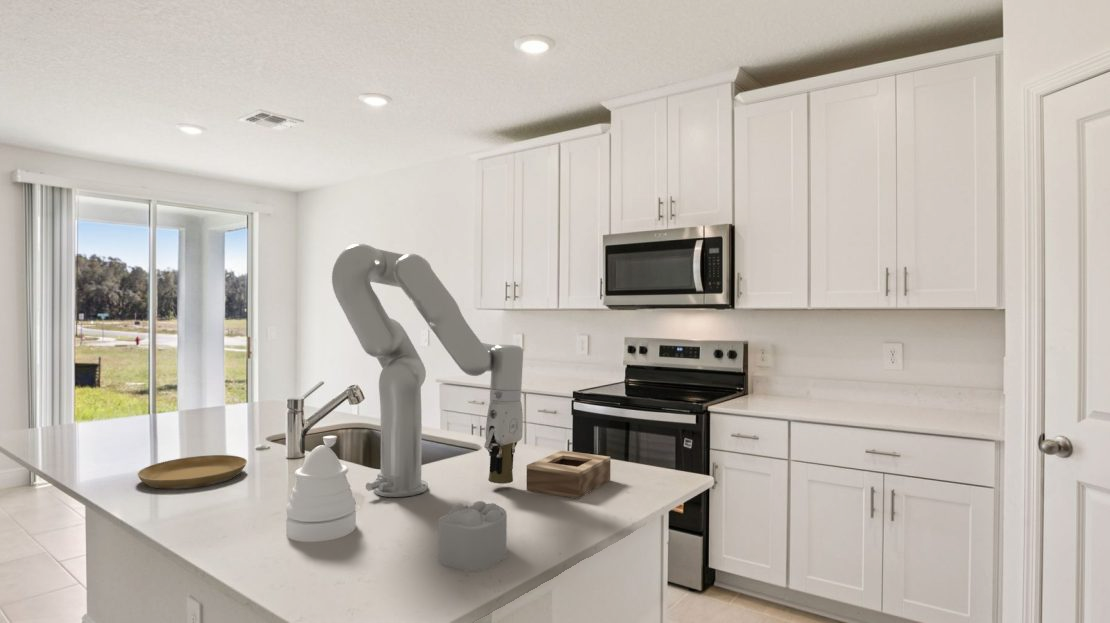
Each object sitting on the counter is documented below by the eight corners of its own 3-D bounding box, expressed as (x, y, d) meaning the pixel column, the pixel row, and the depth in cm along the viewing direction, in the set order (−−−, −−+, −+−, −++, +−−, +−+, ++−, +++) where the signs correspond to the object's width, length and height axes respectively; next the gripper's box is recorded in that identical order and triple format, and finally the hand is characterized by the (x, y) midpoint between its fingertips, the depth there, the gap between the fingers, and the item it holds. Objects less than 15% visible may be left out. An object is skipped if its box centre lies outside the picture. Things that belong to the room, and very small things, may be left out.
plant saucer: (123, 496, 146) (123, 482, 146) (152, 470, 169) (152, 458, 169) (239, 487, 154) (239, 474, 154) (252, 464, 177) (252, 452, 177)
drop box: (578, 498, 146) (578, 472, 146) (526, 490, 152) (526, 465, 152) (610, 480, 161) (610, 456, 161) (561, 473, 168) (562, 450, 168)
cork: (514, 477, 156) (517, 433, 156) (510, 484, 150) (513, 438, 150) (490, 475, 157) (493, 431, 157) (485, 482, 151) (488, 436, 151)
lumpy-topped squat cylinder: (429, 562, 109) (429, 512, 109) (472, 538, 121) (472, 493, 121) (480, 574, 105) (480, 522, 104) (519, 548, 116) (520, 500, 116)
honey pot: (325, 515, 134) (326, 429, 133) (369, 526, 127) (369, 436, 127) (271, 533, 123) (271, 440, 122) (316, 546, 116) (316, 448, 116)
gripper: (499, 401, 144) (494, 481, 145) (536, 394, 159) (532, 467, 159) (472, 397, 148) (467, 475, 148) (511, 391, 163) (507, 462, 163)
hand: (501, 470), depth 154 cm, fingers closed on cork, 4 cm apart
